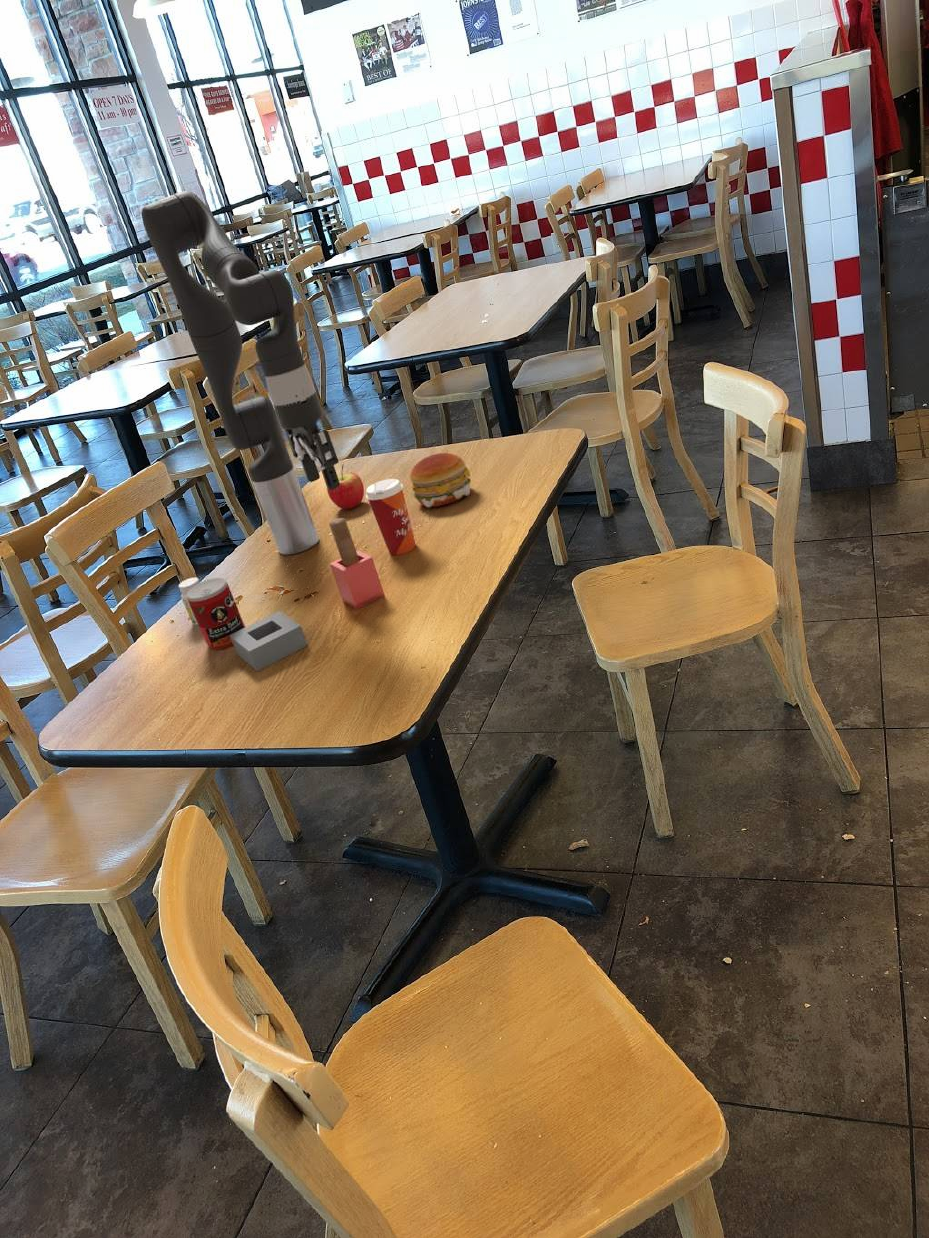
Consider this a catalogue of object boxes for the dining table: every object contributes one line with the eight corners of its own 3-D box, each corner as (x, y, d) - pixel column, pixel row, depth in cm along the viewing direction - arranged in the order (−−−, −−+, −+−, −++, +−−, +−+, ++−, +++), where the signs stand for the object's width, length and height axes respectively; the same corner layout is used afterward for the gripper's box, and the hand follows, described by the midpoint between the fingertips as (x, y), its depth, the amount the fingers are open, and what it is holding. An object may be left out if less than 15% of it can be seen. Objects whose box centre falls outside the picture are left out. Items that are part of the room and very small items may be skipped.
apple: (375, 498, 234) (362, 459, 229) (354, 514, 228) (340, 474, 223) (349, 499, 238) (336, 460, 234) (327, 514, 233) (313, 475, 228)
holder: (237, 654, 178) (229, 635, 176) (286, 629, 182) (279, 610, 180) (257, 671, 170) (248, 651, 168) (308, 645, 174) (300, 625, 172)
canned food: (213, 655, 180) (190, 602, 175) (203, 641, 187) (181, 590, 182) (252, 637, 183) (231, 585, 178) (241, 624, 189) (220, 573, 184)
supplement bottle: (220, 612, 197) (204, 575, 193) (208, 624, 193) (191, 587, 190) (200, 614, 199) (185, 577, 195) (188, 626, 195) (171, 589, 191)
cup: (343, 601, 186) (329, 563, 183) (370, 587, 189) (357, 550, 185) (356, 609, 181) (343, 570, 178) (384, 595, 184) (371, 557, 180)
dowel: (352, 596, 185) (326, 523, 179) (365, 589, 186) (341, 517, 180) (359, 600, 183) (333, 526, 176) (372, 593, 184) (348, 520, 177)
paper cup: (415, 554, 197) (395, 489, 191) (380, 560, 199) (359, 496, 193) (424, 537, 204) (405, 474, 198) (390, 543, 206) (370, 481, 200)
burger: (440, 485, 230) (428, 445, 226) (486, 486, 222) (475, 444, 217) (405, 510, 221) (392, 469, 217) (452, 512, 213) (440, 468, 209)
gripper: (259, 400, 172) (290, 486, 179) (290, 407, 160) (322, 499, 168) (297, 385, 175) (326, 470, 182) (330, 391, 163) (360, 482, 170)
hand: (324, 484), depth 175 cm, fingers open, 8 cm apart
